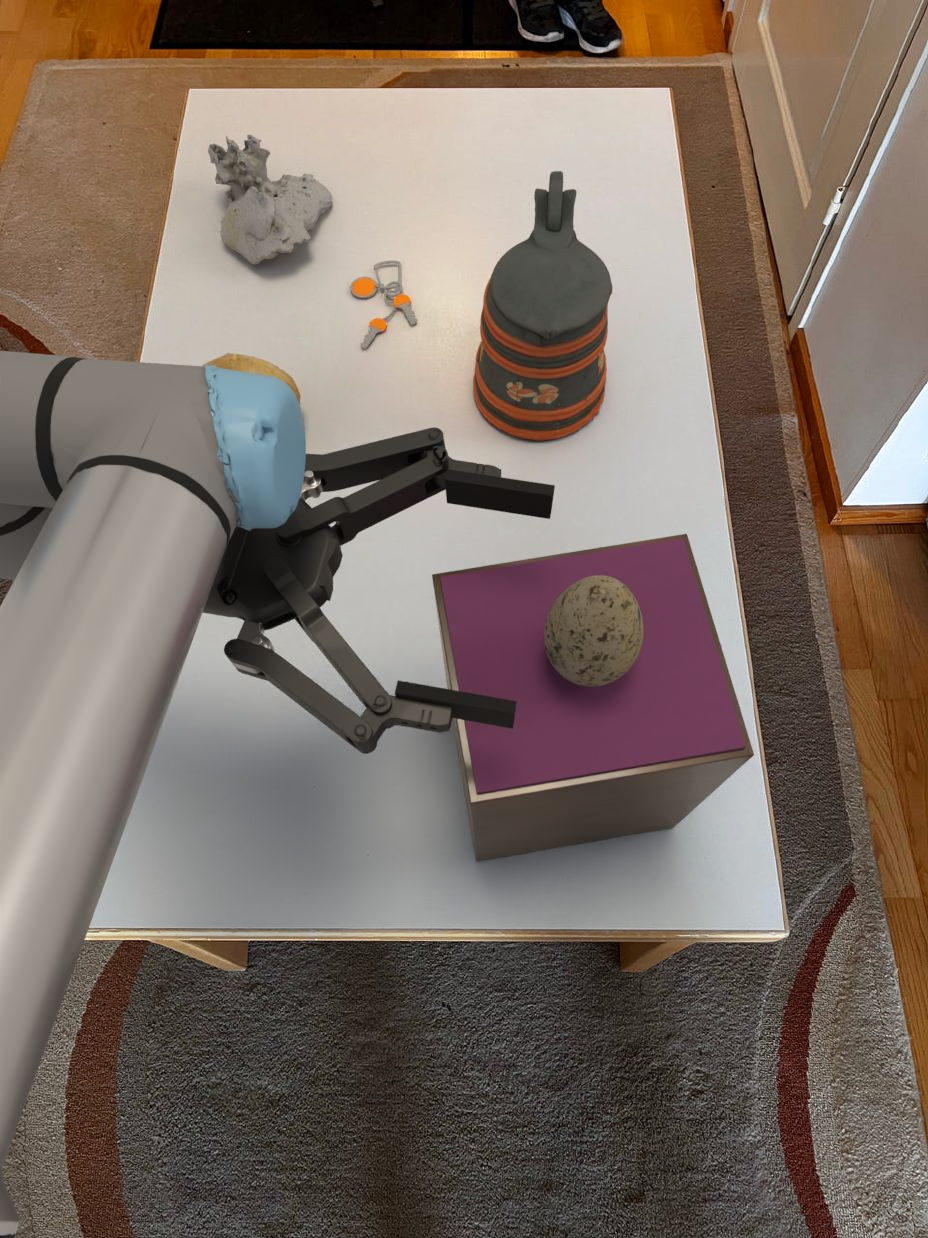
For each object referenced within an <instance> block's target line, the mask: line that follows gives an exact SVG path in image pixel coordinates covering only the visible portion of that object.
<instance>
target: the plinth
mask: <svg viewBox="0 0 928 1238" xmlns="http://www.w3.org/2000/svg"><path fill="white" fill-rule="evenodd" d="M680 538H683V540H684V543H685V547H686V550H687V553H688V556H689V560H690V563H691V566H692V570H693V573H694V576H695V580H696V583H697V586H698V590H699V593H700V596H701V599H702V603H703V606H704V609H705V613H706V616H707V619H708V623H709V626H710V629H711V633H712V636H713V639H714V642H715V646H716V649H717V652H718V656H719V659H720V662H721V666H722V669H723V672H724V676H725V679H726V682H727V686H728V689H729V692H730V695H731V699H732V702H733V705H734V709H735V712H736V715H737V719H738V722H739V725H740V729H741V732H742V735H743V738H744V742H745V745H746V747H745V748H744V749H739V750H733V751H727V752H721V753H715V754H710V755H704V756H698V757H692V758H686V759H680V760H674V761H669V762H663V763H657V764H651V765H645V766H639V767H633V768H628V769H622V770H616V771H610V772H604V773H598V774H592V775H586V776H581V777H575V778H569V779H563V780H557V781H551V782H545V783H540V784H534V785H528V786H522V787H516V788H510V789H504V790H499V791H493V792H487V793H481V794H477V792H476V786H475V780H474V774H473V769H472V763H471V757H470V751H469V745H468V739H467V733H466V728H465V722H464V720H461V719H456V718H452V724H453V731H454V737H455V743H456V750H457V754H458V762H459V767H460V774H461V780H462V785H463V790H464V791H463V792H464V796H465V802H466V809H467V815H468V821H469V827H470V833H471V838H472V845H473V851H474V857H475V862H476V863H481V862H487V861H492V860H499V859H502V858H503V859H504V858H508V857H515V856H520V855H526V854H532V853H538V852H542V851H549V850H550V851H551V850H554V849H561V848H567V847H572V846H578V845H584V844H590V843H594V842H601V841H608V840H614V839H619V838H623V837H629V836H636V835H641V834H647V833H652V832H658V831H663V830H670V829H674V828H675V827H676V826H677V825H678V824H680V823H681V822H682V821H683V820H685V818H686V817H687V816H688V815H690V813H693V811H694V810H695V809H696V808H697V807H698V806H699V805H700V804H702V803H703V802H705V800H706V799H707V798H708V797H710V796H711V795H712V794H713V793H714V792H715V791H716V790H717V789H718V788H719V787H721V786H722V785H723V784H724V783H725V782H726V781H727V780H728V779H730V777H732V776H733V775H734V774H735V773H736V772H737V771H738V770H739V769H740V768H741V767H743V766H744V765H745V764H746V763H747V762H748V761H749V760H750V759H752V758H753V757H754V756H755V753H754V750H753V746H752V742H751V740H750V736H749V733H748V729H747V727H746V723H745V720H744V716H743V712H742V709H741V707H740V703H739V700H738V697H737V694H736V691H735V687H734V684H733V681H732V677H731V674H730V671H729V670H730V669H729V667H728V664H727V661H726V658H725V655H724V651H723V648H722V644H721V640H720V638H719V634H718V632H717V629H716V625H715V621H714V618H713V615H712V612H711V608H710V605H709V602H708V599H707V595H706V591H705V589H704V586H703V581H702V579H701V576H700V573H699V569H698V566H697V562H696V559H695V556H694V552H693V549H692V547H691V546H692V545H691V543H690V539H689V536H688V534H687V533H683V534H675V535H670V536H663V537H658V538H657V537H656V538H651V539H645V540H639V541H632V542H627V543H620V544H619V543H618V544H613V545H608V546H601V547H594V548H588V549H582V550H576V551H570V552H563V553H558V554H550V555H545V556H538V557H531V558H527V559H519V560H514V561H513V560H512V561H507V562H501V563H493V564H488V565H483V566H476V567H470V568H463V569H457V570H451V571H445V572H439V573H433V574H431V578H432V585H433V592H434V600H435V608H436V615H437V621H438V622H437V623H438V627H439V628H438V629H439V630H438V631H439V636H440V644H441V652H442V658H443V665H444V673H445V681H446V687H447V688H446V689H450V690H456V691H459V687H458V681H457V675H456V669H455V663H454V658H453V652H452V646H451V640H450V634H449V628H448V623H447V617H446V611H445V605H444V599H443V593H442V588H441V582H440V577H443V576H449V575H455V574H462V573H468V572H474V571H480V570H487V569H493V568H499V567H505V566H512V565H518V564H524V563H530V562H537V561H543V560H549V559H555V558H562V557H568V556H574V555H580V554H587V553H593V552H599V551H605V550H611V549H618V548H624V547H630V546H636V545H643V544H649V543H655V542H661V541H668V540H674V539H680Z"/></svg>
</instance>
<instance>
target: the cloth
mask: <svg viewBox="0 0 928 1238" xmlns="http://www.w3.org/2000/svg"><path fill="white" fill-rule="evenodd" d="M594 575H605V576H609V577H612V578H615V579H617V580H619V581H620V582H622V583H623V584H624V585H625V586H627V588H628V589H629V590H630V591H631V592H632V594H633V595H634V597H635V599H636V601H637V603H638V605H639V608H640V611H641V615H642V620H643V641H642V646H641V649H640V652H639V655H638V657H637V659H636V661H635V662H634V664H633V665H632V667H631V668H630V669H629V670H628V671H627V672H626V673H625V674H624V675H623V676H621V677H620V678H619V679H617V680H615V681H614V682H611V683H609V684H606V685H602V686H594V687H590V686H582V685H578V684H575V683H573V682H571V681H569V680H567V679H565V678H564V677H563V676H562V675H560V674H559V673H558V672H557V671H556V669H555V668H554V667H553V666H552V664H551V662H550V661H549V659H548V656H547V654H546V651H545V646H544V627H545V622H546V619H547V616H548V613H549V611H550V609H551V607H552V606H553V604H554V603H555V601H556V600H557V598H558V597H559V596H560V595H561V594H562V593H563V592H564V591H565V590H566V589H567V588H568V587H569V586H571V585H572V584H574V583H575V582H577V581H579V580H581V579H583V578H586V577H589V576H594ZM440 582H441V588H442V593H443V599H444V605H445V611H446V617H447V623H448V628H449V634H450V640H451V646H452V652H453V658H454V663H455V669H456V675H457V681H458V687H459V691H461V692H467V693H473V694H479V695H484V696H490V697H496V698H501V699H507V700H513V701H516V712H515V720H514V725H513V729H512V728H506V727H500V726H495V725H489V724H484V723H478V722H473V721H467V720H464V722H465V728H466V733H467V739H468V745H469V751H470V757H471V763H472V769H473V774H474V780H475V786H476V792H477V794H481V793H487V792H493V791H499V790H504V789H510V788H516V787H522V786H528V785H534V784H540V783H545V782H551V781H557V780H563V779H569V778H575V777H581V776H586V775H592V774H598V773H604V772H610V771H616V770H622V769H628V768H633V767H639V766H645V765H651V764H657V763H663V762H669V761H674V760H680V759H686V758H692V757H698V756H704V755H710V754H715V753H721V752H727V751H733V750H739V749H744V748H745V747H746V745H745V742H744V738H743V735H742V732H741V729H740V725H739V722H738V719H737V715H736V712H735V709H734V705H733V702H732V699H731V695H730V692H729V689H728V686H727V682H726V679H725V676H724V672H723V669H722V666H721V662H720V659H719V656H718V652H717V649H716V646H715V642H714V639H713V636H712V633H711V629H710V626H709V623H708V619H707V616H706V613H705V609H704V606H703V603H702V599H701V596H700V593H699V590H698V586H697V583H696V580H695V576H694V573H693V570H692V566H691V563H690V560H689V556H688V553H687V550H686V547H685V543H684V540H683V538H680V539H674V540H668V541H661V542H655V543H649V544H643V545H636V546H630V547H624V548H618V549H611V550H605V551H599V552H593V553H587V554H580V555H574V556H568V557H562V558H555V559H549V560H543V561H537V562H530V563H524V564H518V565H512V566H505V567H499V568H493V569H487V570H480V571H474V572H468V573H462V574H455V575H449V576H443V577H440Z"/></svg>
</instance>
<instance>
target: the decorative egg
mask: <svg viewBox="0 0 928 1238" xmlns="http://www.w3.org/2000/svg"><path fill="white" fill-rule="evenodd" d="M642 641H643V620H642V615H641V611H640V608H639V605H638V603H637V601H636V599H635V597H634V595H633V594H632V592H631V591H630V590H629V589H628V588H627V586H625V585H624V584H623V583H622V582H620V581H619V580H617V579H615V578H612V577H609V576H605V575H594V576H589V577H586V578H583V579H581V580H579V581H577V582H575V583H574V584H572V585H571V586H569V587H568V588H567V589H566V590H565V591H564V592H563V593H562V594H561V595H560V596H559V597H558V598H557V600H556V601H555V603H554V604H553V606H552V607H551V609H550V611H549V613H548V616H547V619H546V622H545V627H544V646H545V651H546V654H547V656H548V659H549V661H550V662H551V664H552V666H553V667H554V668H555V669H556V671H557V672H558V673H559V674H560V675H562V676H563V677H564V678H565V679H567V680H569V681H571V682H573V683H575V684H578V685H582V686H590V687H594V686H602V685H606V684H609V683H611V682H614V681H615V680H617V679H619V678H620V677H621V676H623V675H624V674H625V673H626V672H627V671H628V670H629V669H630V668H631V667H632V665H633V664H634V662H635V661H636V659H637V657H638V655H639V652H640V649H641V646H642Z"/></svg>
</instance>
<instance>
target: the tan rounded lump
mask: <svg viewBox="0 0 928 1238" xmlns="http://www.w3.org/2000/svg"><path fill="white" fill-rule="evenodd" d="M205 365H207V366H211V365H215V366H216V367H218V368H223V369H229V370H235V371H241V372H247V373H253V374H260V375H268V376H273V377H276V378H278V379H280V380H282V381H284V382H285V383H286V384H287V385H288V386H289V387H290V388H291V389H292V390H293V392H294V393H295V395H296V397H297V399H298V402H299V405H300V406H301V393H300V390H299V388H298V385H297V383H296V381H295V380H294V378H293V377H292V376H291V375H290V374H289V373H287V372H286V371H285V370H284V369H282V368H280V367H278V366H276V365H275V364H273V363H271V362H270V361H267V360H265V359H262V358H258V357H255V356H251V355H247V354H240V353H233V352H228V353H226V354H223V355H221V356H218V357H217V358H214V359H211V360H210V361H207V362H205V363H204V364H202V365H201V366H204V367H205Z"/></svg>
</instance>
